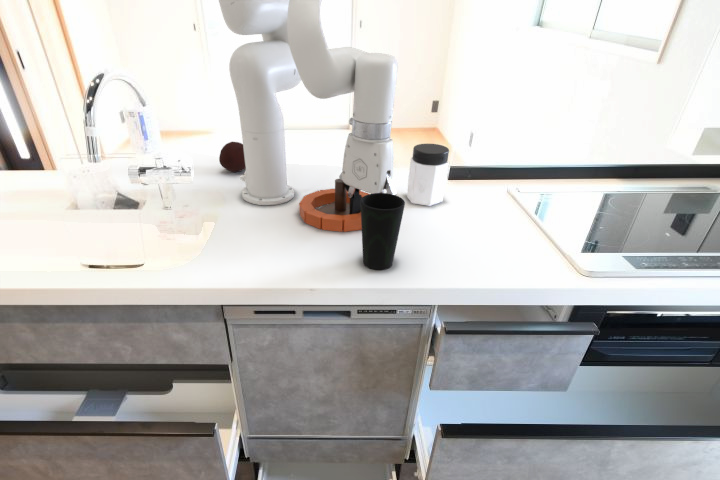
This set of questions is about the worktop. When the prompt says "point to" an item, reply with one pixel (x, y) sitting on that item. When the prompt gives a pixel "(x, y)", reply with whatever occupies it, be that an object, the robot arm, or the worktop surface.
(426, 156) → the jar
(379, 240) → the cup
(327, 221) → the ring
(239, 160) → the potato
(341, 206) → the stand
